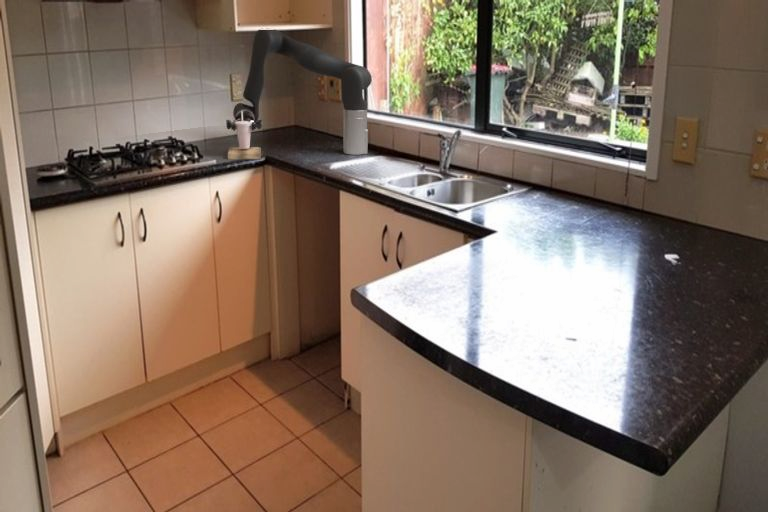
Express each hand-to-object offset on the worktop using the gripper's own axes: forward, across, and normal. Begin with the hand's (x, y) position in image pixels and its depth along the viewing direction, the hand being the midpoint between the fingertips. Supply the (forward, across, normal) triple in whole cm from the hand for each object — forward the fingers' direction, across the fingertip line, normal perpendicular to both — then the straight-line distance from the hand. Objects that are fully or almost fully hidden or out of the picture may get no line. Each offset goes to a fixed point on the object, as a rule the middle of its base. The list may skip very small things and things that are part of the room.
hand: (243, 127), depth 267 cm
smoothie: (-2, 0, +8) cm, 9 cm away
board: (-2, 0, +11) cm, 11 cm away
